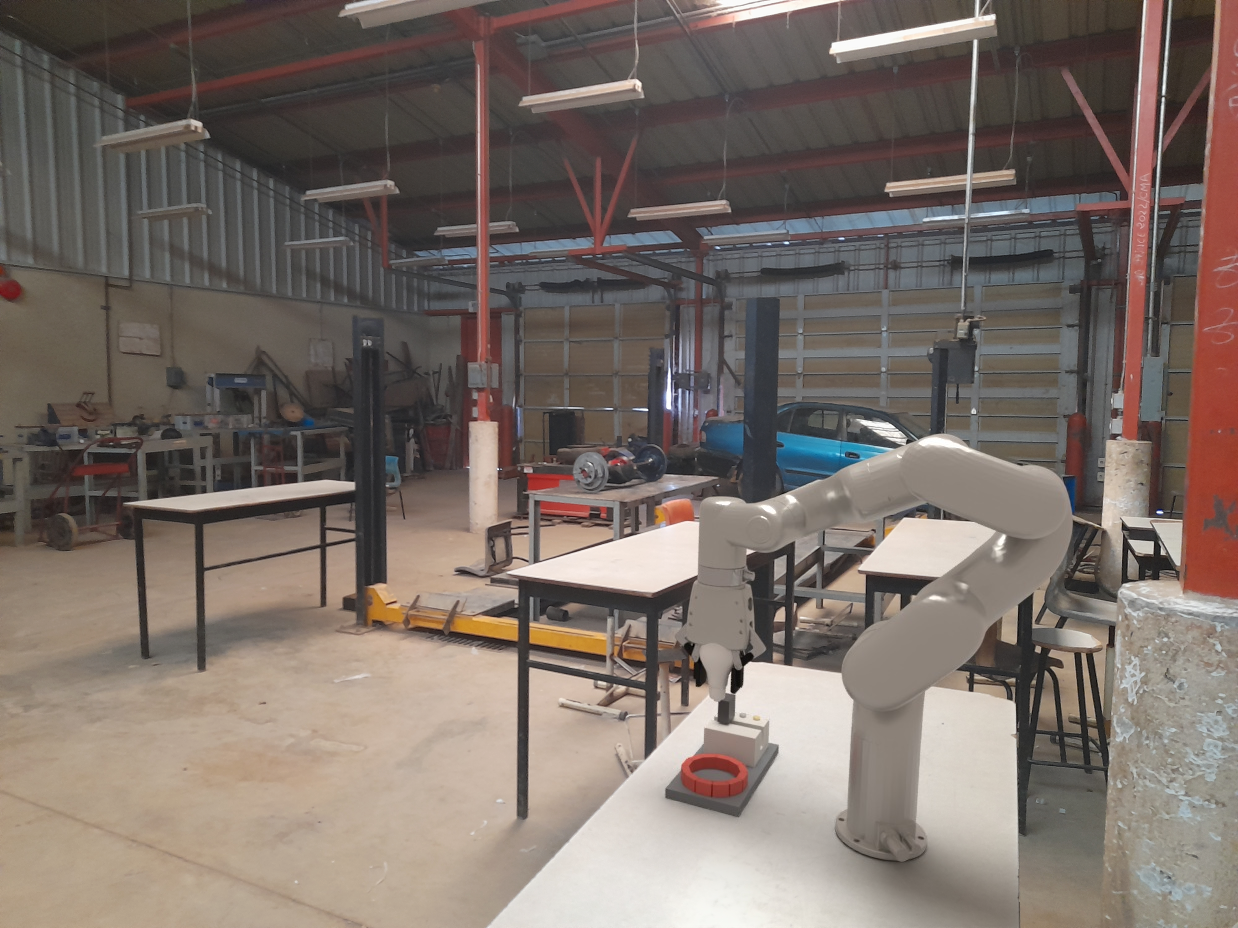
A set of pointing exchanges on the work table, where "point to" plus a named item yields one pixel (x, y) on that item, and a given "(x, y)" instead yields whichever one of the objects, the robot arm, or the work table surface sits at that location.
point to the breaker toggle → (726, 709)
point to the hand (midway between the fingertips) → (717, 686)
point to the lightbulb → (716, 668)
